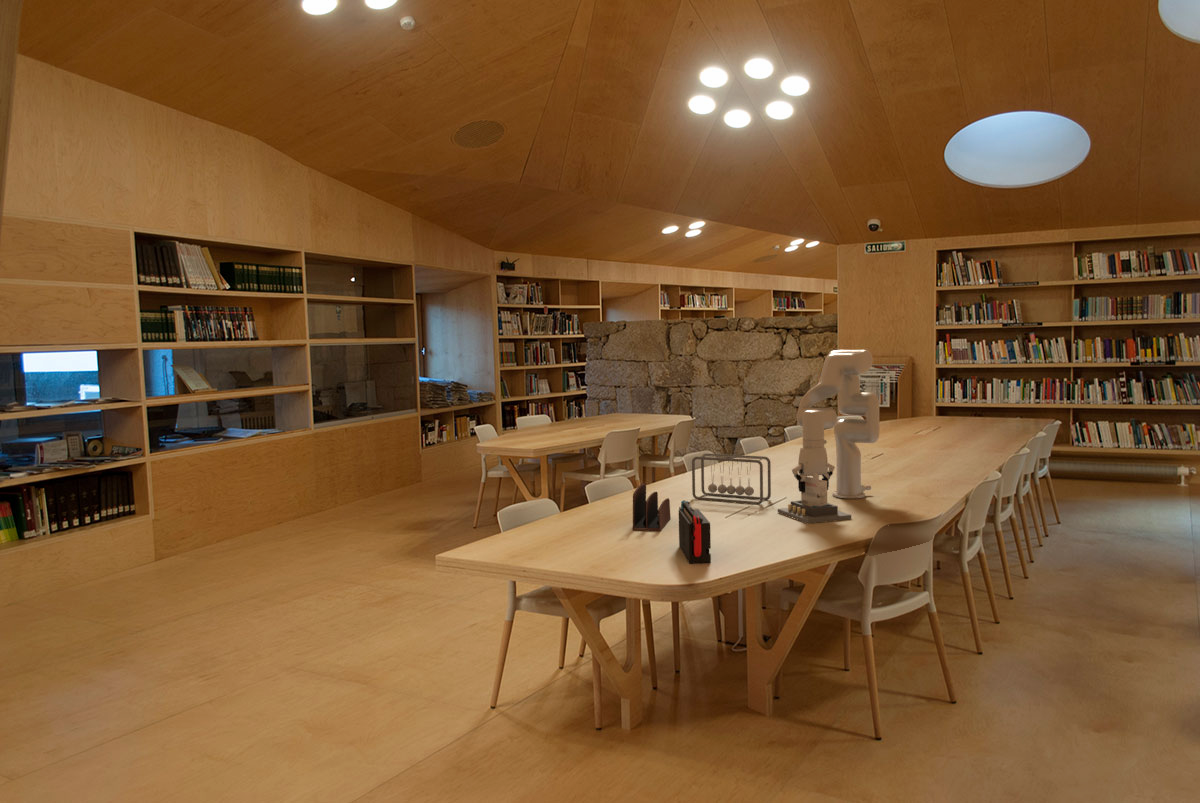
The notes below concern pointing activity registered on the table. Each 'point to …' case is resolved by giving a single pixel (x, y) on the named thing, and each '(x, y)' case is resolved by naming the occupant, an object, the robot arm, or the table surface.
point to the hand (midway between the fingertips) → (813, 490)
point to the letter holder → (649, 511)
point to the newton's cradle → (731, 488)
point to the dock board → (813, 512)
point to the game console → (694, 534)
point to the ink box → (814, 492)
